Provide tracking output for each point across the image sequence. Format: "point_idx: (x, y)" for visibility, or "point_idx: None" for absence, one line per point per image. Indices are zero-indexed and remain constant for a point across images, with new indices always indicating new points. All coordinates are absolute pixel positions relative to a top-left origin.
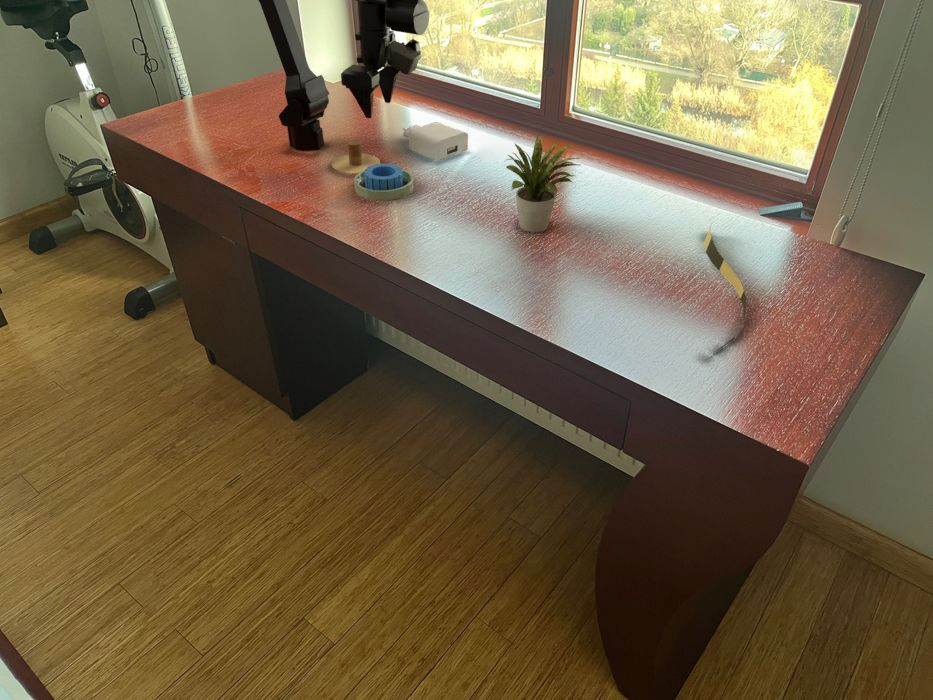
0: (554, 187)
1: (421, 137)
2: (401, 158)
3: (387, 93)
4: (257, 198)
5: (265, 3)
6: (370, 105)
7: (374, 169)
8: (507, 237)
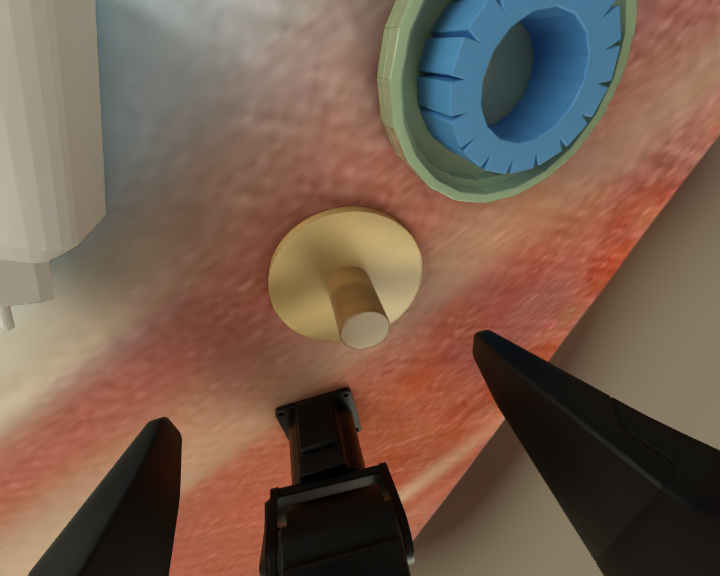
0: None
1: (51, 147)
2: (189, 198)
3: (152, 497)
4: (573, 326)
5: None
6: (590, 387)
7: (507, 140)
8: None
